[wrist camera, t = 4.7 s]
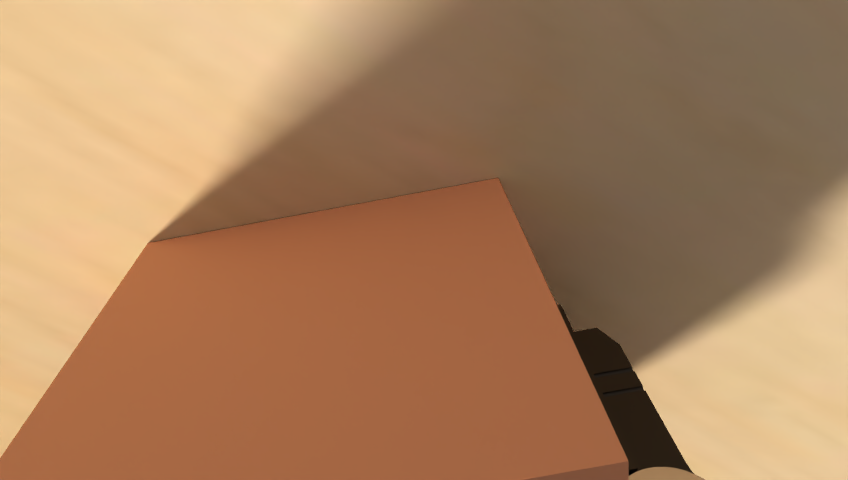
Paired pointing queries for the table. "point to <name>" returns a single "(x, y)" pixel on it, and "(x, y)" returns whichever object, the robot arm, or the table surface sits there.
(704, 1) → the table surface
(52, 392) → the terracotta cube
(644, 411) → the robot arm
